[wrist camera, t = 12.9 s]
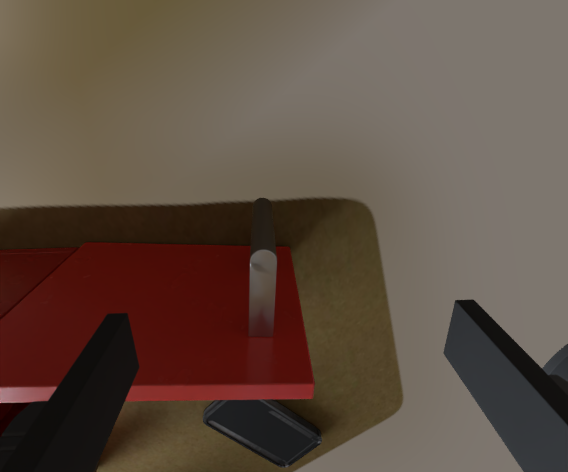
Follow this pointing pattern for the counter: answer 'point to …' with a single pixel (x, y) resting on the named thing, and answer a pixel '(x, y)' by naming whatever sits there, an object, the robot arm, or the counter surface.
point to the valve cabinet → (24, 292)
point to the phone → (264, 428)
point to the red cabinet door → (169, 320)
